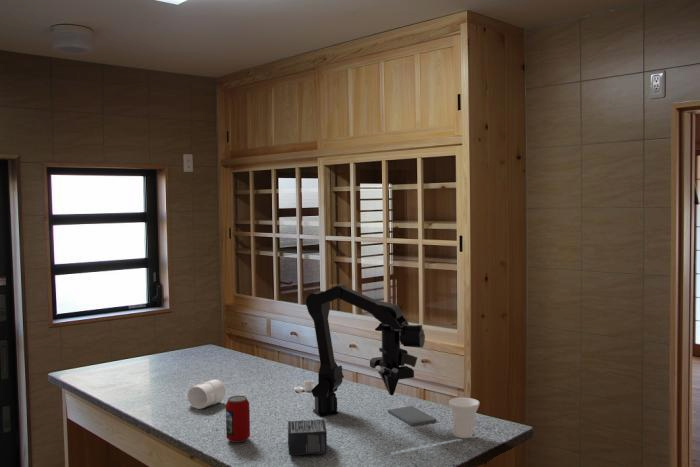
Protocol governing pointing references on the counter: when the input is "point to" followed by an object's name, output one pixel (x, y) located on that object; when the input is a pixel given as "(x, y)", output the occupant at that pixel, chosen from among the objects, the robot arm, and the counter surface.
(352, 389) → the counter surface
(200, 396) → the white cylinder
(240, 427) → the beverage can
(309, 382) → the teacup and saucer
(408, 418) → the mat
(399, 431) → the counter surface
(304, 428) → the small box
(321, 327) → the robot arm
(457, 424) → the cup
